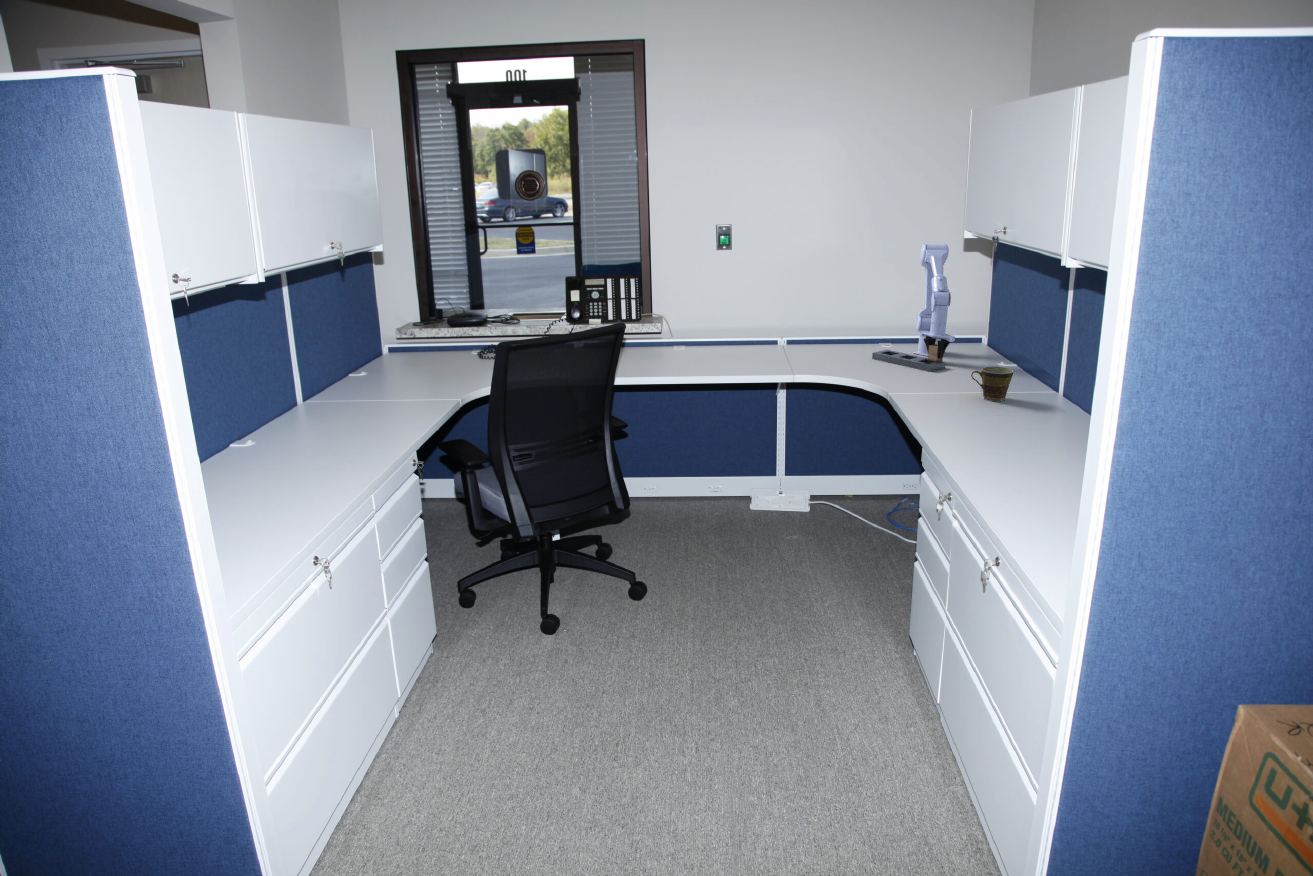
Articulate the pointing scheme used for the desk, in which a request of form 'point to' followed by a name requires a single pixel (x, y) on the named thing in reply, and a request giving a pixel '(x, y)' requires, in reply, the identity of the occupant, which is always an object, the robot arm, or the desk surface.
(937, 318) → the robot arm
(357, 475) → the desk surface
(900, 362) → the grey square hole board
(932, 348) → the square peg
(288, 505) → the desk surface
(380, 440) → the desk surface
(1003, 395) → the ceramic cup
